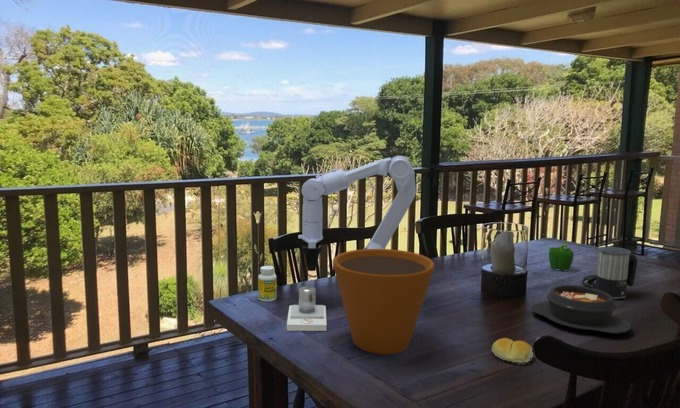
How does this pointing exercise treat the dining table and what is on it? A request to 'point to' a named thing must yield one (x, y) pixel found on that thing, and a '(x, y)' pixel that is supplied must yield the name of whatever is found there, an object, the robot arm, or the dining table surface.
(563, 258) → the bell pepper
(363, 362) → the dining table surface
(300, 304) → the cylinder
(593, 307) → the casserole
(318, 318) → the scale
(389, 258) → the flower pot
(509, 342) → the bread roll
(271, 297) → the supplement bottle
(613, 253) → the milk frother
